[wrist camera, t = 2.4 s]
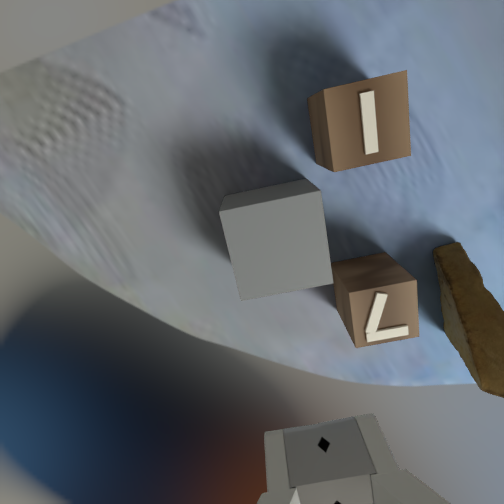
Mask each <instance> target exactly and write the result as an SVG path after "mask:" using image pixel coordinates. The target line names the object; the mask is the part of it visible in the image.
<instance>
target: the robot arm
mask: <svg viewBox="0 0 504 504" xmlns="http://www.w3.org/2000/svg"><path fill="white" fill-rule="evenodd" d="M264 441H265V458H266V474H267V488H268V489H267V490H268V492H267V493H262V495H261V497H260V499H259V500H258V503H257V504H450V503H449V502H447V501H446V500H445V499H444V498H443V497H441V496H440V495H439V494H437V493H436V492H435V491H434V490H432V489H431V488H430V487H428V486H427V485H426V484H424V483H423V482H422V481H421V480H419V479H418V478H417V477H415V476H414V475H413V474H412V473H410V472H409V471H408V470H400V469H399V467H398V465H397V462H396V460H395V458H394V456H393V454H392V451H391V449H390V447H389V445H388V443H387V441H386V438H385V436H384V434H383V432H382V430H381V428H380V426H379V423H378V421H377V419H376V417H375V416H374V415H373V414H366V415H360V416H355V417H348V418H343V419H338V420H332V421H327V422H322V423H318V424H313V425H307V426H300V427H293V428H286V429H281V430H275V431H269V432H265V436H264Z"/></svg>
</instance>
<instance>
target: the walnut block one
mask: <svg viewBox="0 0 504 504" xmlns="http://www.w3.org/2000/svg"><path fill="white" fill-rule="evenodd" d="M307 102H308V109H309V116H310V123H311V130H312V137H313V144H314V151H315V158H316V164H318V165H320V166H322V167H324V168H326V169H328V170H330V171H332V172H337V171H342V170H347V169H351V168H356V167H360V166H365V165H370V164H374V163H379V162H384V161H388V160H393V159H398V158H402V157H407V156H411V147H410V125H409V104H408V83H407V70H405V71H401V72H397V73H392V74H388V75H384V76H379V77H375V78H371V79H366V80H362V81H358V82H353V83H349V84H345V85H340V86H336V87H332V88H328V89H323V90H322V91H320V92H318V93H316V94H314V95H312V96H310V97H309V98H307Z"/></svg>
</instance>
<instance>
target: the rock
mask: <svg viewBox="0 0 504 504" xmlns="http://www.w3.org/2000/svg"><path fill="white" fill-rule="evenodd" d="M433 256H434V261H435V266H436V269H437V273H438V281H439V285H440V291H441V296H440V301H441V305H442V306H441V311H442V314H443V318H444V331H445V333H446V336H447V337H448V339H449V340H450V342H451V343H452V345H453V346H454V347H455V349H456V350H457V351H458V352H459V354H460V357H461V358H462V359H463V361H464V362H465V365H466V367H467V368H468V370H469V372H470V374H471V376H472V377H473V378H474V380H475V382H476V383H477V385H478V387H479V388H480V389H481V390H482V391H485V392H487V393H490V394H493V395H496V396H500V397H503V398H504V311H503V310H502V308H501V307H500V305H499V303H498V302H497V301H496V299H495V298H494V297H493V295H492V294H491V292H489V291H488V290H487V289H486V288H485V287H484V285H483V279H482V276H481V274H480V272H479V270H478V269H477V267H476V266H475V264H473V263H472V262H471V261H470V259H469V258H468V256H467V253H466V252H465V250H464V249H463V247H462V246H461V243H459V242H456V243H452V244H449V245H444V246H440V247H438V248H435V249H434V250H433Z"/></svg>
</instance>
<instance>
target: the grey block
mask: <svg viewBox="0 0 504 504" xmlns="http://www.w3.org/2000/svg"><path fill="white" fill-rule="evenodd" d="M219 215H220V219H221V223H222V227H223V231H224V235H225V239H226V243H227V247H228V251H229V255H230V259H231V263H232V267H233V271H234V275H235V279H236V283H237V287H238V291H239V295H240V299H241V301H244V300H249V299H255V298H260V297H265V296H270V295H276V294H281V293H286V292H291V291H296V290H302V289H307V288H312V287H317V286H323V285H328V284H333V276H332V269H331V262H330V254H329V247H328V240H327V232H326V225H325V218H324V211H323V203H322V196H321V190H320V189H318V188H317V187H316V186H315V185H314V184H312V183H311V182H310V181H309V180H308V179H301V180H297V181H292V182H287V183H282V184H278V185H273V186H268V187H264V188H259V189H254V190H249V191H245V192H240V193H235V194H230V195H226V196H224V199H223V201H222V204H221V207H220V210H219Z"/></svg>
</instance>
